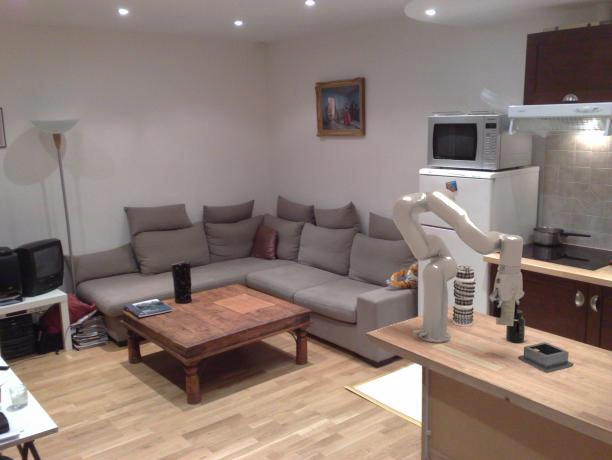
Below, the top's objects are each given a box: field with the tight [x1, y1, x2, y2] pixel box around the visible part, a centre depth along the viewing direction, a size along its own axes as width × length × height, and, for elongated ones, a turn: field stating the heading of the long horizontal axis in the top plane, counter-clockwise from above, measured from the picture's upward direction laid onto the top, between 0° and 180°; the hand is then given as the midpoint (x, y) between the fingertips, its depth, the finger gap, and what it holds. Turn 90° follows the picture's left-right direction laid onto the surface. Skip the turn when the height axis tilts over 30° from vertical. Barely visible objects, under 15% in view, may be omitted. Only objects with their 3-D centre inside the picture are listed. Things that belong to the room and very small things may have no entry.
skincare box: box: [495, 294, 516, 327], centre depth 206 cm, size 6×4×12 cm
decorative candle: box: [452, 265, 477, 327], centre depth 240 cm, size 9×9×25 cm
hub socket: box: [517, 341, 574, 374], centre depth 200 cm, size 13×13×6 cm
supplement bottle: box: [505, 309, 526, 344], centre depth 221 cm, size 7×7×12 cm
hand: (505, 315), depth 206 cm, fingers closed on skincare box, 7 cm apart
